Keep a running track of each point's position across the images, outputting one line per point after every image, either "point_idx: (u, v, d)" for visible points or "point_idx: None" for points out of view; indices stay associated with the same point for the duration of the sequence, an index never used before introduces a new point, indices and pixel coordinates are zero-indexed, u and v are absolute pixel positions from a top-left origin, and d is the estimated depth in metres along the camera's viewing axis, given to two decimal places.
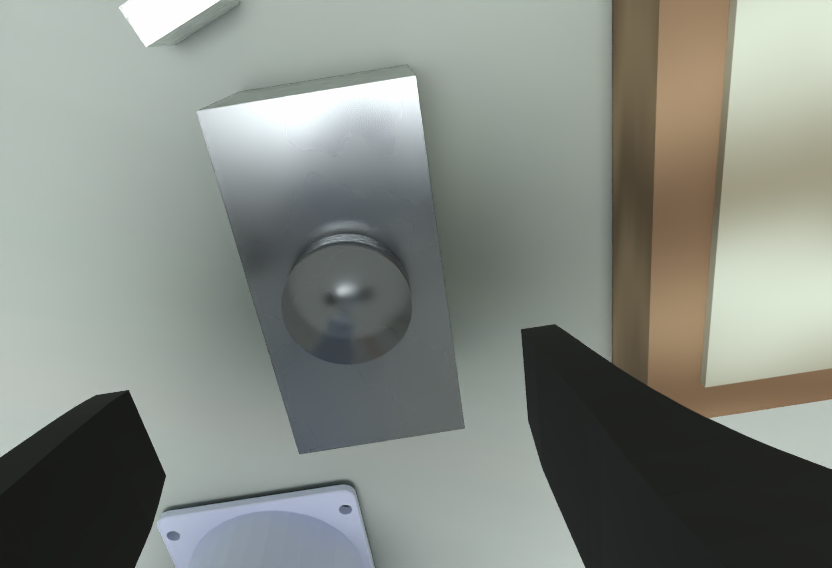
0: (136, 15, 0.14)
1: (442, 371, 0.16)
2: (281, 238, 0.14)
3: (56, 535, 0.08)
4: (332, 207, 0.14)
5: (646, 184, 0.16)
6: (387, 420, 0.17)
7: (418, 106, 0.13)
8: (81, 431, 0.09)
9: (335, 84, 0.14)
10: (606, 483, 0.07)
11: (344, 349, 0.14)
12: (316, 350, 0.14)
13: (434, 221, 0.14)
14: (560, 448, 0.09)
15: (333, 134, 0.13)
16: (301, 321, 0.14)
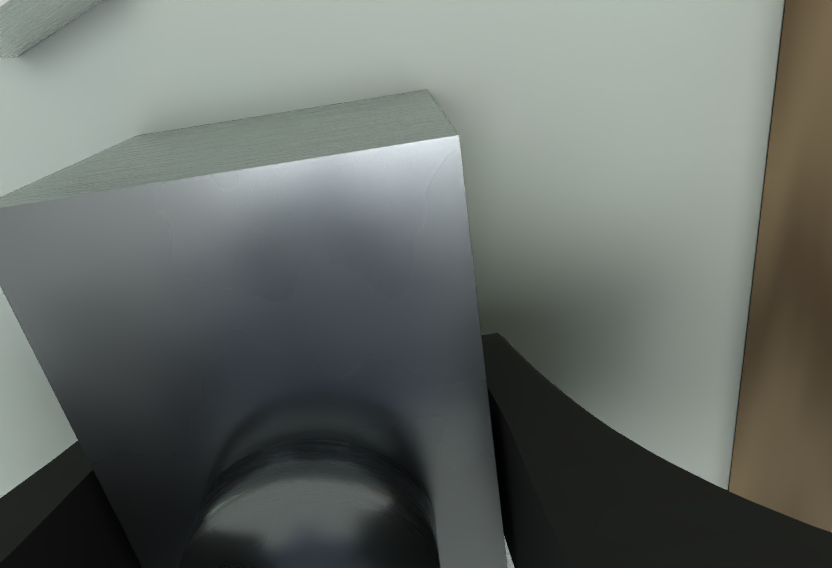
0: None
1: None
2: (179, 449, 0.07)
3: None
4: (281, 395, 0.07)
5: None
6: None
7: (463, 200, 0.06)
8: None
9: (287, 143, 0.07)
10: (521, 496, 0.07)
11: None
12: None
13: (487, 415, 0.07)
14: None
15: (276, 258, 0.06)
16: None
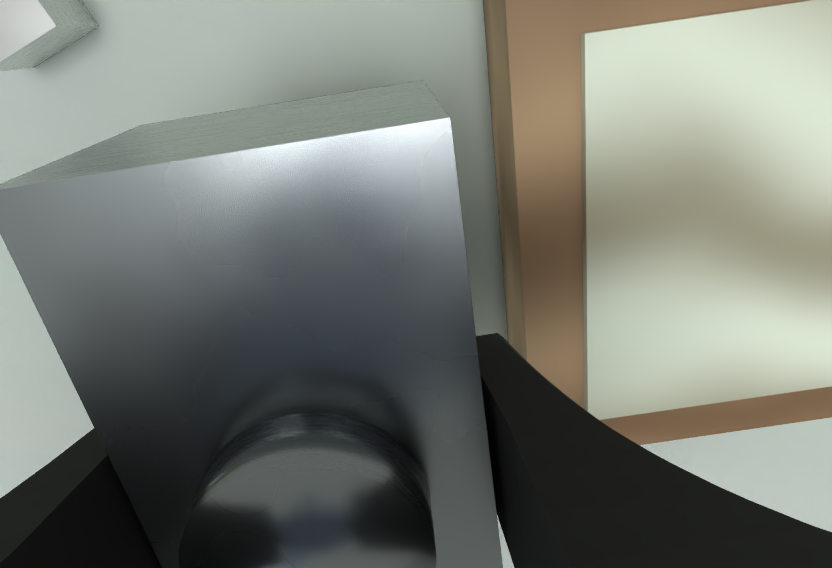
0: None
1: None
2: (183, 423, 0.07)
3: (127, 524, 0.08)
4: (281, 369, 0.07)
5: (515, 216, 0.15)
6: None
7: (454, 180, 0.06)
8: None
9: (286, 127, 0.07)
10: (521, 496, 0.07)
11: None
12: None
13: (479, 390, 0.07)
14: (493, 459, 0.09)
15: (276, 236, 0.06)
16: None
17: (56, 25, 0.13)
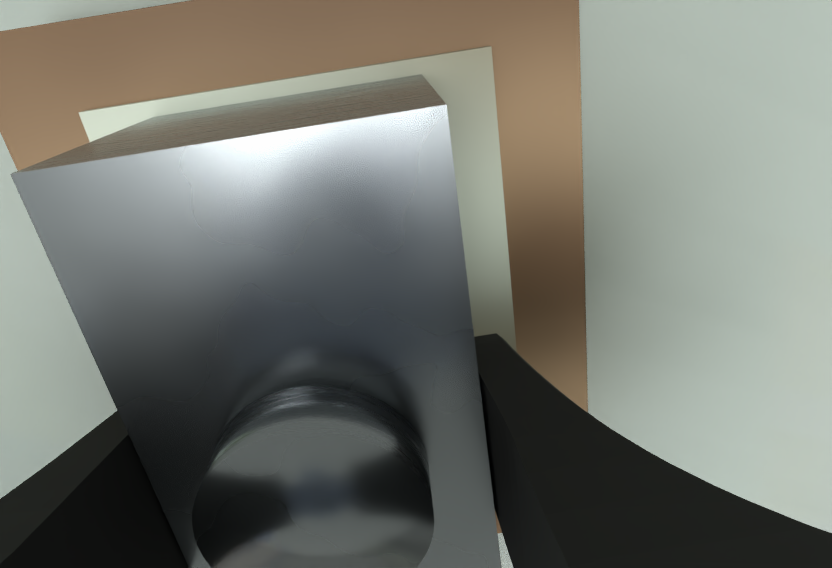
0: None
1: None
2: (196, 394, 0.08)
3: (128, 524, 0.08)
4: (288, 342, 0.08)
5: None
6: None
7: (450, 163, 0.07)
8: None
9: (294, 116, 0.07)
10: (520, 496, 0.07)
11: None
12: None
13: (474, 363, 0.08)
14: (492, 459, 0.09)
15: (285, 216, 0.07)
16: (232, 549, 0.08)
17: None
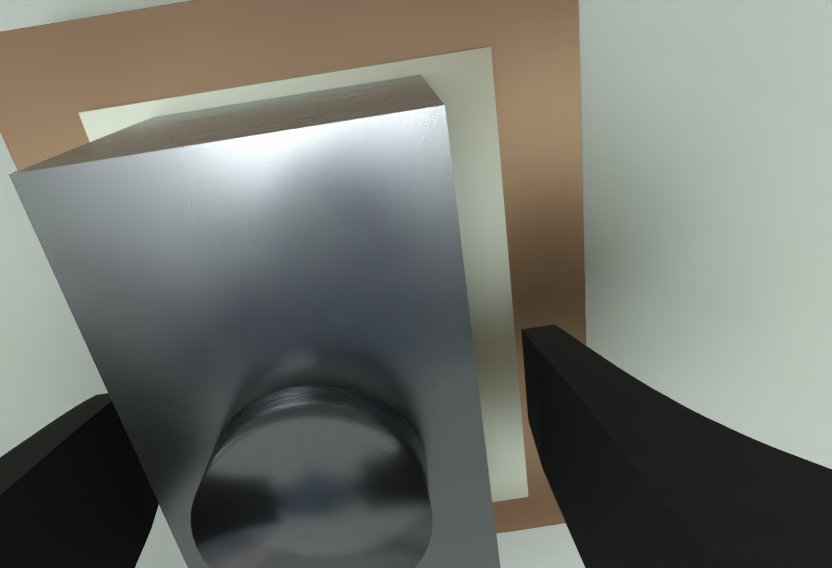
0: None
1: None
2: (195, 394, 0.08)
3: (56, 535, 0.08)
4: (287, 343, 0.08)
5: None
6: None
7: (448, 164, 0.07)
8: (81, 431, 0.09)
9: (292, 116, 0.07)
10: (606, 483, 0.07)
11: None
12: None
13: (473, 363, 0.08)
14: (560, 448, 0.09)
15: (283, 216, 0.07)
16: (230, 549, 0.08)
17: None
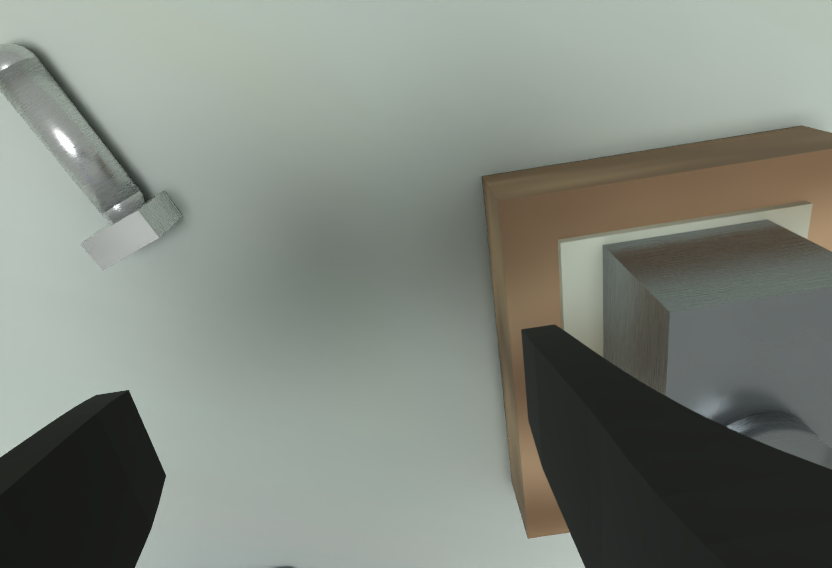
0: (94, 249, 0.17)
1: None
2: (708, 417, 0.14)
3: (56, 535, 0.08)
4: (765, 390, 0.14)
5: (510, 360, 0.19)
6: None
7: None
8: (81, 431, 0.09)
9: (770, 271, 0.14)
10: (606, 483, 0.07)
11: None
12: None
13: None
14: (560, 448, 0.09)
15: (789, 329, 0.13)
16: None
17: (159, 237, 0.17)
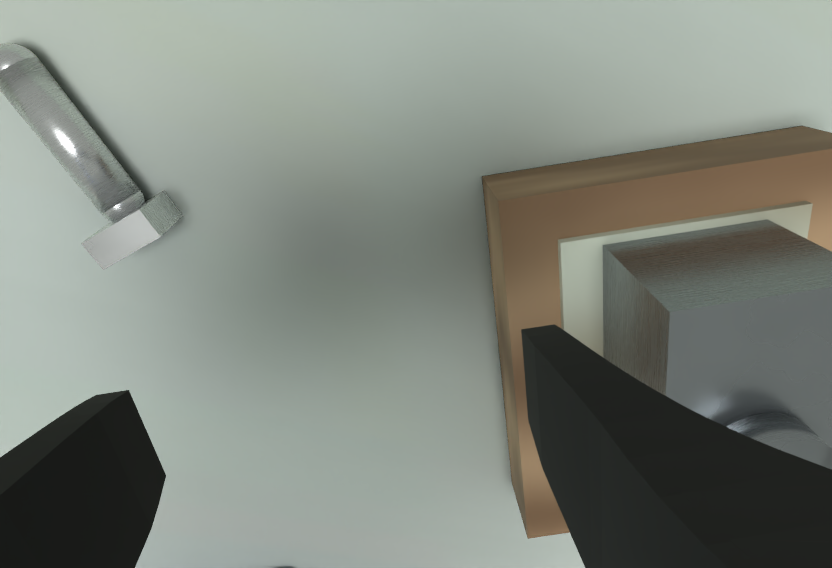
0: (95, 248, 0.17)
1: None
2: (708, 417, 0.14)
3: (56, 535, 0.08)
4: (765, 390, 0.14)
5: (510, 360, 0.19)
6: None
7: None
8: (81, 431, 0.09)
9: (770, 271, 0.14)
10: (606, 483, 0.07)
11: None
12: None
13: None
14: (560, 448, 0.09)
15: (789, 329, 0.13)
16: None
17: (160, 236, 0.17)
